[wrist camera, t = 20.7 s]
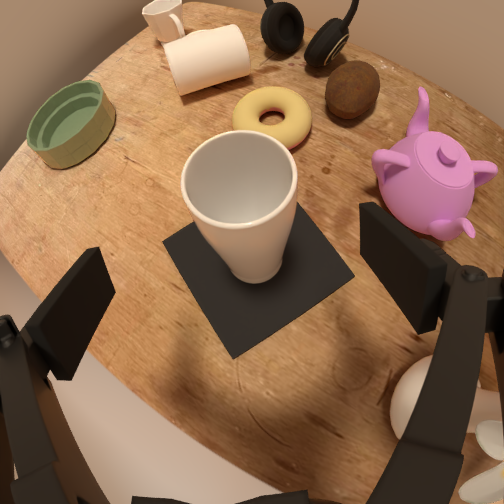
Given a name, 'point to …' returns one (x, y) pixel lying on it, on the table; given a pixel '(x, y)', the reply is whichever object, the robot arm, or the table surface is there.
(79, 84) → the bowl
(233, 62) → the mug
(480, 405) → the flower vase
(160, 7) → the cup
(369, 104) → the potato
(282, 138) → the donut
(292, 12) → the headphones
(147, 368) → the table surface
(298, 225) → the mat
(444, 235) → the teapot
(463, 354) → the robot arm
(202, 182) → the drinking glass
